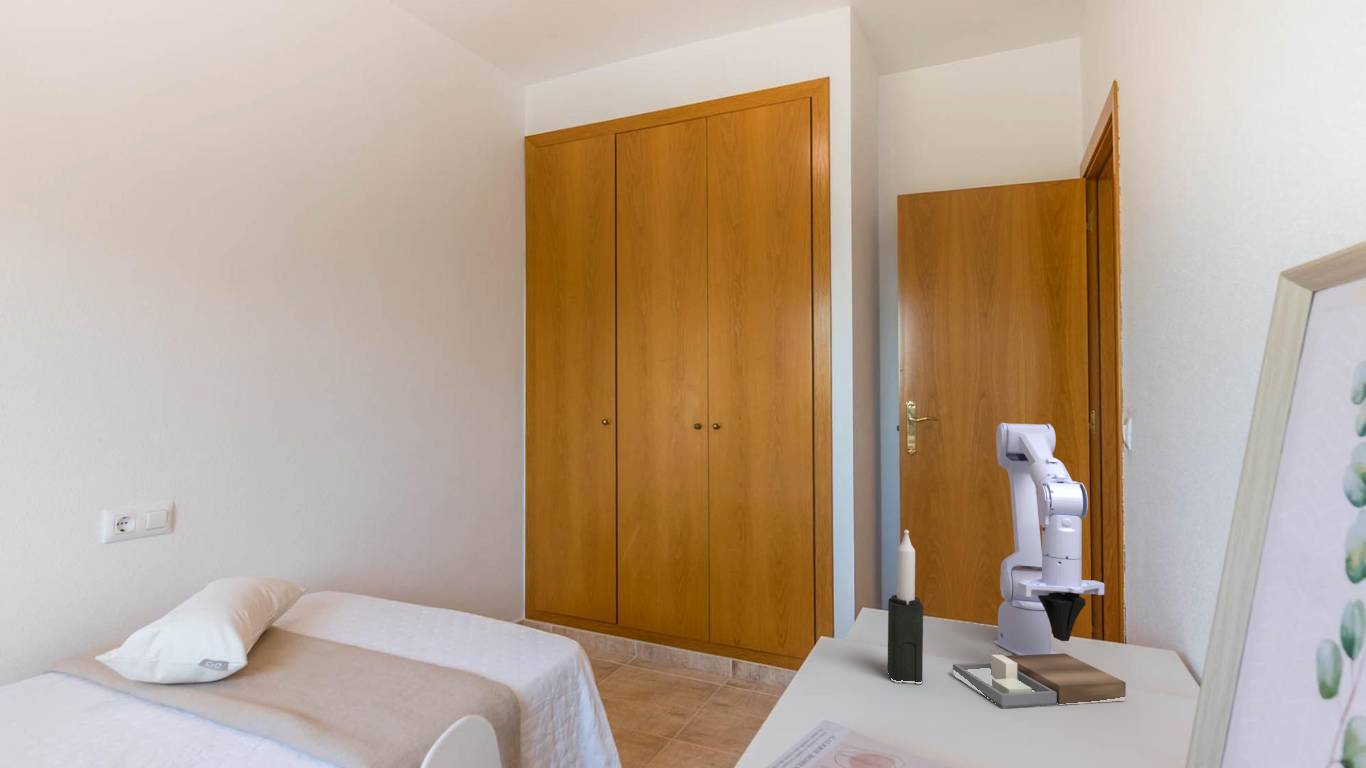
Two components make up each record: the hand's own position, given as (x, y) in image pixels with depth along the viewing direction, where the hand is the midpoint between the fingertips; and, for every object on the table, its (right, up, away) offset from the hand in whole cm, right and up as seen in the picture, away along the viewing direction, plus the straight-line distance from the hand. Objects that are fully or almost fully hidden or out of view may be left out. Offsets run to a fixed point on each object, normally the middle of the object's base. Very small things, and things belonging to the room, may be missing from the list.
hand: (1061, 639), depth 110 cm
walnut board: (+1, -9, +2) cm, 9 cm away
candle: (-25, -8, +3) cm, 26 cm away
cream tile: (-8, -6, +2) cm, 10 cm away
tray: (-10, -8, 0) cm, 13 cm away
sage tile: (-10, -6, -4) cm, 12 cm away
